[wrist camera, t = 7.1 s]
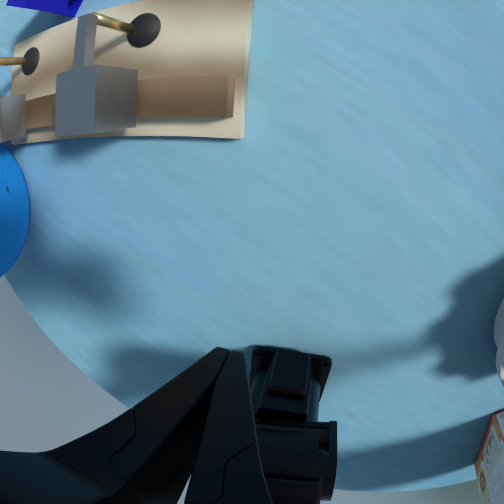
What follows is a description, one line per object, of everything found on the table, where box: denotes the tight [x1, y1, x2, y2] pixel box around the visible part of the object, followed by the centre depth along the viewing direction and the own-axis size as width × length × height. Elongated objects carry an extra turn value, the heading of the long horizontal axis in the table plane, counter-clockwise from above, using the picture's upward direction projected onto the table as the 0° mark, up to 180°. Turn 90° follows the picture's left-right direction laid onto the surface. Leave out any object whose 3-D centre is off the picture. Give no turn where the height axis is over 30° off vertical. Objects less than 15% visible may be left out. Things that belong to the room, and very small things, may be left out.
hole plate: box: [0, 0, 254, 145], centre depth 15 cm, size 10×22×8 cm, turn 86°
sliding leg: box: [55, 12, 138, 137], centre depth 14 cm, size 7×3×5 cm, turn 176°
